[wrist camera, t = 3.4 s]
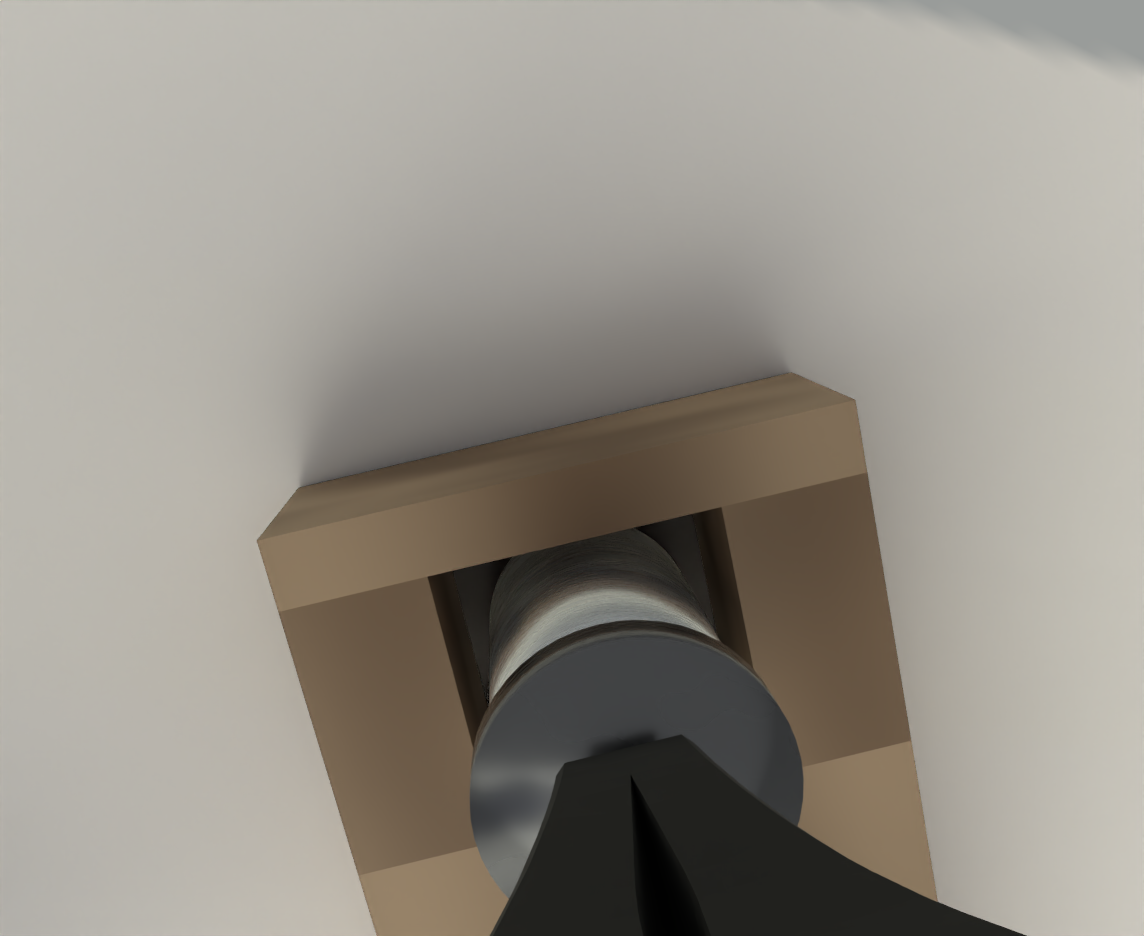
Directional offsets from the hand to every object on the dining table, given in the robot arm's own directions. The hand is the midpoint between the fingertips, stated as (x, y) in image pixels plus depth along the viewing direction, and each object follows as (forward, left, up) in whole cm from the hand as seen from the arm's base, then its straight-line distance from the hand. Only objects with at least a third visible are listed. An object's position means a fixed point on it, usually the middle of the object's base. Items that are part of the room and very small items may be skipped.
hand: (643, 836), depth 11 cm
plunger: (0, 0, -6) cm, 6 cm away
